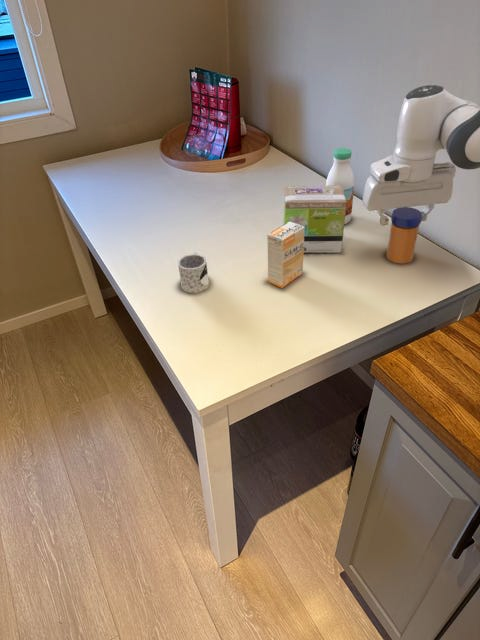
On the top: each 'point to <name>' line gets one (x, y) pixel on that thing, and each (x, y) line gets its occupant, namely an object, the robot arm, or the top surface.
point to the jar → (401, 244)
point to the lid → (406, 217)
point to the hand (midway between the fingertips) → (402, 222)
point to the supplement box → (285, 254)
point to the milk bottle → (343, 178)
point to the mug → (193, 273)
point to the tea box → (317, 215)
